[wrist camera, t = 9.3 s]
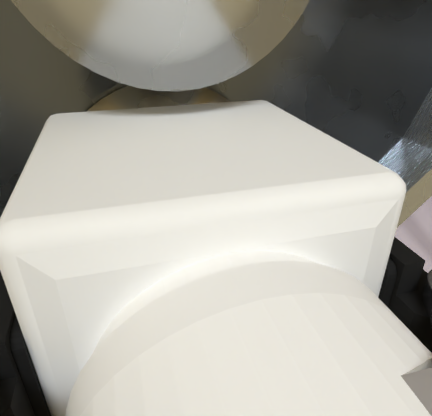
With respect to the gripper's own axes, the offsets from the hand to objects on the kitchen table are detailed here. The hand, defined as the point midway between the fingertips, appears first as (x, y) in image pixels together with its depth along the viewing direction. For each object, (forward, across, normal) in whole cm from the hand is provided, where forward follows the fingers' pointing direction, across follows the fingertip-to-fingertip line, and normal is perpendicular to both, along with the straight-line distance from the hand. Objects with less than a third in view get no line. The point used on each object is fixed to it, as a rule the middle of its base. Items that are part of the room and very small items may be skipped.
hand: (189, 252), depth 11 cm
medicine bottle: (+3, 0, 0) cm, 3 cm away
